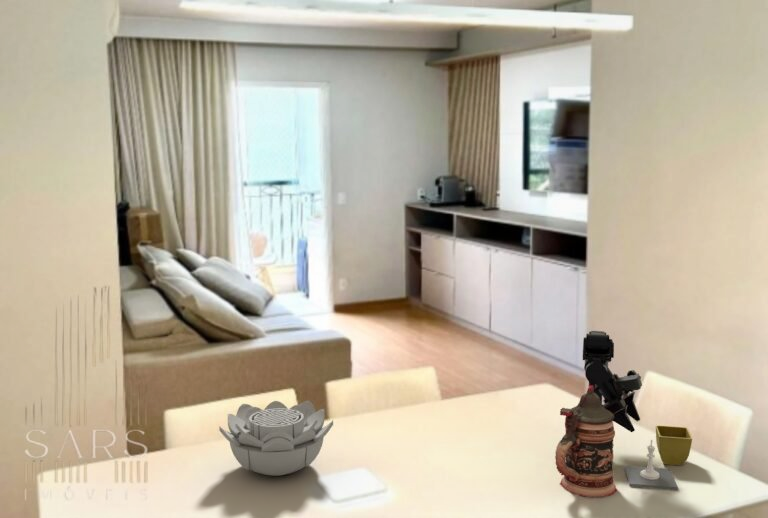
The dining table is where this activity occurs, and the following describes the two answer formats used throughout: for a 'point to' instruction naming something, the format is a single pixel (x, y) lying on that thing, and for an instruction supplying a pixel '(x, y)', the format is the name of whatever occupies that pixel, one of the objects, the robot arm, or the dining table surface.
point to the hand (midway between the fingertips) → (636, 425)
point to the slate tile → (662, 482)
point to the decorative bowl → (276, 437)
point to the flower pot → (673, 444)
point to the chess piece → (650, 465)
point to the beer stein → (587, 448)
